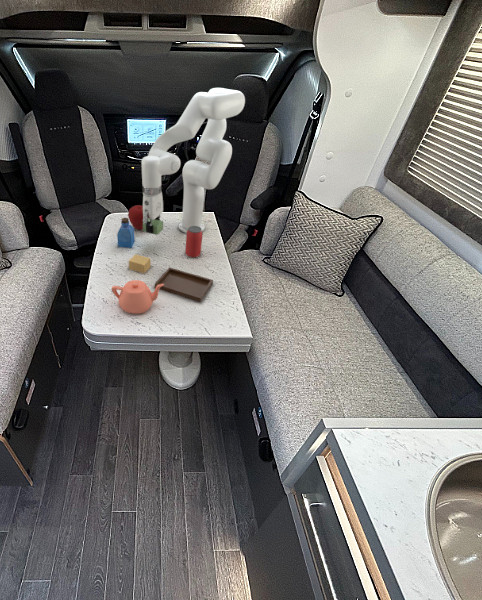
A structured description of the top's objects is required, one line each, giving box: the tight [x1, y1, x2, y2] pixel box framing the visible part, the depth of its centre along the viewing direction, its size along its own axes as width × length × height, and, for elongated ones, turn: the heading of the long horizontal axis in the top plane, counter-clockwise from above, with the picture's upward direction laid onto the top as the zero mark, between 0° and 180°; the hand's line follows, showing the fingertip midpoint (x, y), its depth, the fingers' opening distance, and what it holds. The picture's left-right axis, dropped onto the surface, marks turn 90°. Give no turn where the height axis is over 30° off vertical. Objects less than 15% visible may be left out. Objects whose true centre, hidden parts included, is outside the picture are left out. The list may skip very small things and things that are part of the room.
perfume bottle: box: [116, 217, 136, 249], centre depth 150 cm, size 6×6×12 cm
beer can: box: [185, 226, 203, 258], centre depth 144 cm, size 7×7×12 cm
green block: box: [142, 219, 164, 236], centre depth 147 cm, size 6×7×4 cm
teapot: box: [111, 279, 164, 315], centre depth 118 cm, size 12×18×10 cm
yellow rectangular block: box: [128, 253, 152, 274], centre depth 138 cm, size 6×7×4 cm
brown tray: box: [154, 266, 214, 303], centre depth 129 cm, size 13×19×2 cm
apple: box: [127, 204, 149, 231], centre depth 162 cm, size 11×11×12 cm
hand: (153, 229), depth 148 cm, fingers closed on green block, 5 cm apart
